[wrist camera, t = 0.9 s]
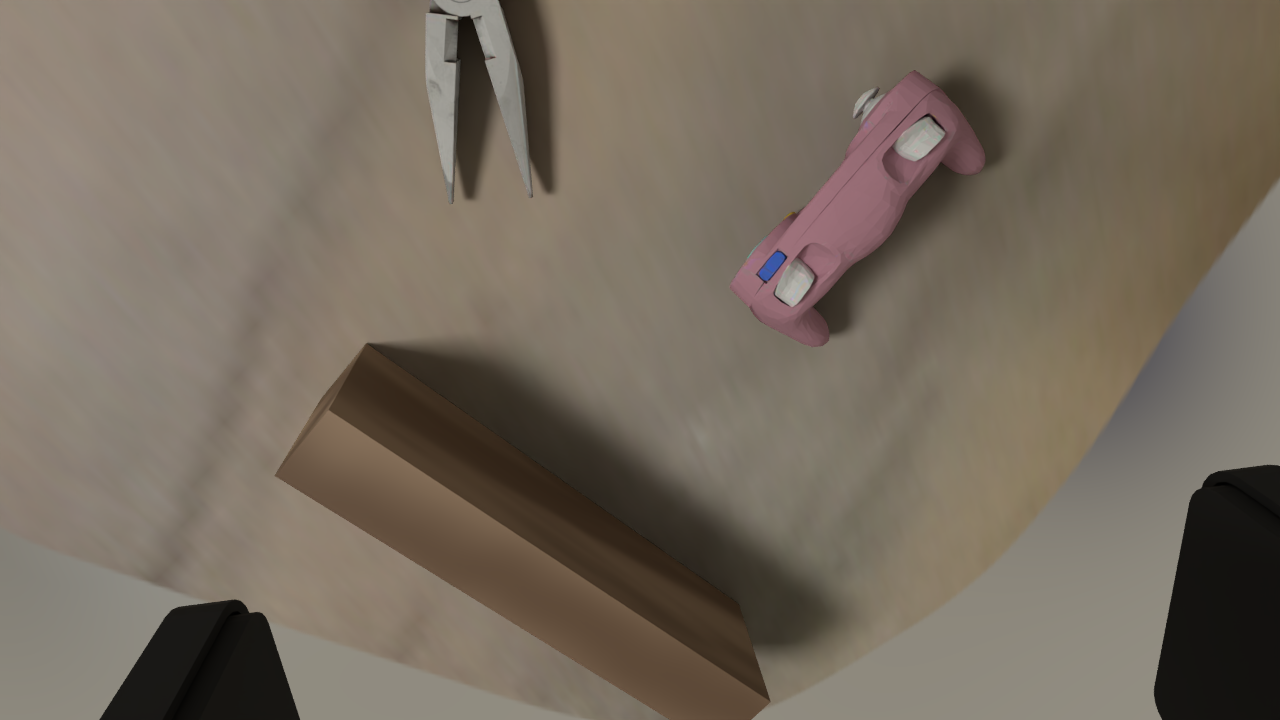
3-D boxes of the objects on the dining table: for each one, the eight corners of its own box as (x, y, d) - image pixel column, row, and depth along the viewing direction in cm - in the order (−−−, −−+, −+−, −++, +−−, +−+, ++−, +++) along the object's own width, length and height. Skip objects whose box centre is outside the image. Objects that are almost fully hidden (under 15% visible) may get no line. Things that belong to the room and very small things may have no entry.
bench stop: (366, 343, 32) (328, 409, 27) (738, 604, 39) (770, 701, 33) (320, 399, 33) (274, 475, 27) (694, 646, 39) (718, 749, 34)
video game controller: (896, 82, 32) (903, 29, 26) (992, 157, 32) (1025, 123, 25) (728, 282, 35) (694, 280, 28) (814, 356, 34) (801, 373, 27)
